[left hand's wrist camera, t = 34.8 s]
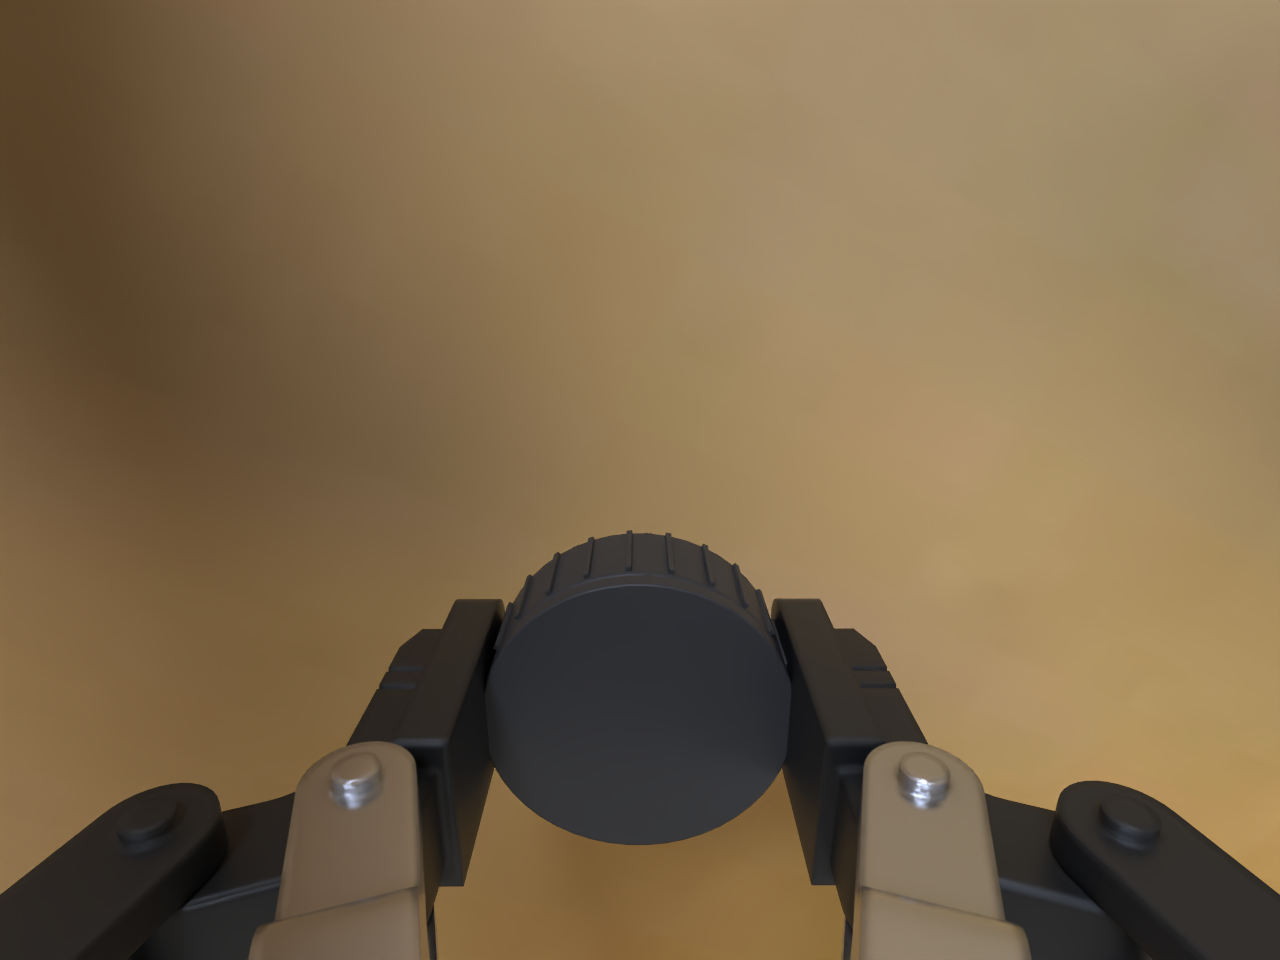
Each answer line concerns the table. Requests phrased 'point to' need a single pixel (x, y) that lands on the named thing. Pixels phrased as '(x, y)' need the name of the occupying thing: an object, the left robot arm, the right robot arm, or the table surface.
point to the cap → (638, 691)
